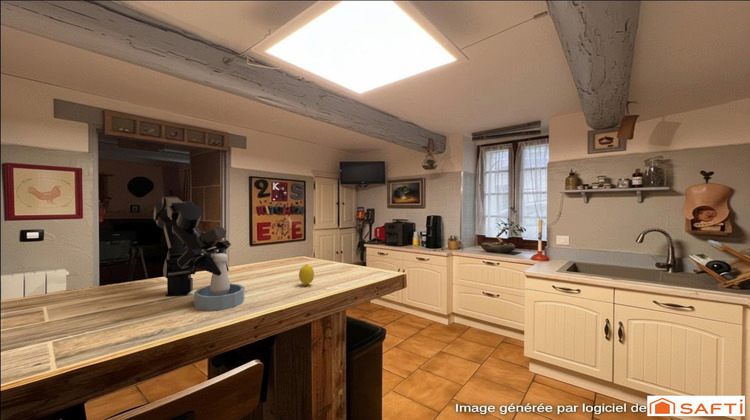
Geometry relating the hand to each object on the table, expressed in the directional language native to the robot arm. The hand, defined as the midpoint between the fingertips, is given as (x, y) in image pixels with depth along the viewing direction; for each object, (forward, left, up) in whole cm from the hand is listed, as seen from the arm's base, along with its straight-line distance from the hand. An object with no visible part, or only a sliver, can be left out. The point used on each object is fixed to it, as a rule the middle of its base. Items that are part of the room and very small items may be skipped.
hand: (224, 273), depth 98 cm
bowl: (-1, 0, -9) cm, 9 cm away
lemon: (+26, +14, -10) cm, 31 cm away
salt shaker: (-1, +1, -7) cm, 7 cm away
